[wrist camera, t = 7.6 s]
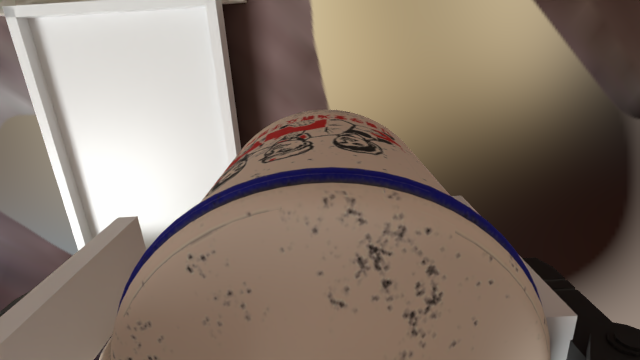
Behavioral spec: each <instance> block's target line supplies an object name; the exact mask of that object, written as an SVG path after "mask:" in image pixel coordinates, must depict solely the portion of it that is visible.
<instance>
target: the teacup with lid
mask: <svg viewBox="0 0 640 360" xmlns="http://www.w3.org/2000/svg"><path fill="white" fill-rule="evenodd" d="M99 360H551V355H550V337H549V331H548V325H547V320H546V317H545V314H544V311H543V308H542V303H541V300H540V297H539V294H538V291H537V288H536V285H535V283H534V281H533V279H532V277H531V275H530V273H529V271H528V269H527V267H526V266H525V264H524V263H523V261H522V260H521V258H520V256H519V255H518V253H517V252H516V251H515V250H514V248H513V247H512V246H511V245H510V243H509V242H508V241H507V240H506V239H505V237H504V236H503V235H502V234H501V233H500V232H499V231H497V230H496V229H495V228H494V227H493V226H492V225H491V224H490V223H489V222H488V221H487V220H485V219H484V218H483V217H482V216H480V215H479V214H478V213H476V212H475V211H474V210H472V209H471V208H470V207H468V206H466V205H465V204H463V203H461V202H460V201H458V200H456V199H455V198H453V197H451V196H450V195H449V194H448V193H447V191H446V190H445V189H444V188H443V187H442V186H441V184H440V183H439V182H438V181H437V180H436V179H435V178H434V176H433V175H432V174H431V173H430V172H429V171H428V170H427V169H426V167H425V166H424V165H423V164H422V163H421V162H420V160H419V159H418V158H417V157H416V156H415V155H414V154H413V152H412V151H411V150H410V149H409V148H408V147H407V146H406V144H405V143H404V142H403V141H402V140H401V139H400V138H399V137H398V136H396V135H395V134H394V133H392V132H391V131H390V130H389V129H387V128H386V127H384V126H383V125H381V124H379V123H377V122H375V121H373V120H371V119H369V118H366V117H364V116H361V115H358V114H354V113H350V112H345V111H338V110H313V111H306V112H301V113H297V114H293V115H291V116H288V117H285V118H283V119H280V120H278V121H276V122H274V123H272V124H271V125H269V126H267V127H266V128H264V129H263V130H261V131H260V132H259V133H258V134H256V135H255V136H254V137H253V138H252V139H251V140H250V141H249V142H248V143H247V144H246V145H245V146H244V147H243V149H242V150H241V151H240V152H239V154H238V155H237V156H236V157H235V159H234V160H233V161H232V162H231V164H230V165H229V166H228V168H227V169H226V170H225V171H224V173H223V174H222V175H221V177H220V178H219V179H218V180H217V182H216V183H215V184H214V186H213V187H212V188H211V189H210V191H209V192H208V193H207V194H206V196H205V197H204V198H203V200H202V201H201V202H200V203H199V204H197V205H196V206H194V207H193V208H191V209H190V210H188V211H187V212H186V213H184V214H183V215H182V216H180V217H179V218H178V219H176V220H175V221H174V222H173V223H172V224H171V225H170V226H169V227H167V228H166V229H165V230H164V231H163V232H162V233H161V234H160V235H159V236H158V237H157V238H156V240H155V241H154V242H153V243H152V244H151V245H150V247H149V248H148V249H147V250H146V251H145V253H144V254H143V256H142V257H141V259H140V260H139V262H138V263H137V265H136V266H135V268H134V270H133V272H132V274H131V276H130V278H129V280H128V282H127V284H126V286H125V288H124V291H123V294H122V297H121V300H120V303H119V307H118V312H117V317H116V320H115V324H114V329H113V334H112V338H111V339H110V341H109V342H108V344H107V345H106V347H105V348H104V350H103V352H102V354H101V356H100V358H99Z"/></svg>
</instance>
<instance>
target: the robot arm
mask: <svg viewBox="0 0 640 360" xmlns="http://www.w3.org/2000/svg"><path fill="white" fill-rule="evenodd" d="M451 197H453V198H455V199H456V200H458V201H460V202H461V203H463V204H465V205H466V206H468V207H470V208H471V209H472V210H474V208H472V206H471V205H470V204H469V203H468V202H467V201H466V200H465V199H464V198H463V197H462V196H451ZM474 211H475V210H474ZM475 212H476V211H475ZM476 213H477V212H476ZM145 251H146V247H145V243H144V239H143V235H142V232H141V228H140V224H139V220H138V216H134V217H118V218H117V219H116V220H114V221H113V222H112V223H111V224H110V225H108V226H107V227H106V228H105V229H104V230H103V231H101V232H100V233H99V234H98V235H97V236H95V237H94V238H93V239H92V240H91V241H90V242H88V243H87V244H86V245H85V246H84V247H82V248H81V249H80V250H79V251H78V252H77V253H75V254H74V255H73V256H72V257H71V258H70V259H68V260H67V261H66V262H65V263H64V264H62V265H61V266H60V267H59V268H58V269H57V270H55V271H54V272H53V273H52V274H51V275H49V276H48V277H47V278H46V279H45V280H44V281H42V282H41V283H40V284H39V285H38V286H36V287H35V288H34V289H33V290H31V291H29V292H28V293H26V294H24V295H22V296H21V297H19V298H17V299H15V300H14V301H13V302H11V303H10V304H9V305H8V306H7V307H5V308H4V309H3V310H2V311H1V312H0V360H94V359H95V357H96V356H97V354H98V353H99V352H100V350H101V349H102V347H103V346H104V345H105V343H106V342H107V340H108V339H109V338H110V336H111V335H112V334H113V329H114V324H115V320H116V317H117V312H118V307H119V303H120V300H121V297H122V294H123V291H124V288H125V286H126V284H127V282H128V280H129V278H130V276H131V274H132V272H133V270H134V268H135V266H136V265H137V263H138V262H139V260H140V259H141V257H142V256H143V254H144V253H145ZM520 258H521V257H520ZM521 260H522V261H523V263H524V264H525V266H526V267H527V269H528V271H529V273H530V275H531V277H532V279H533V281H534V283H535V285H536V288H537V291H538V294H539V297H540V300H541V303H542V308H543V311H544V314H545V317H546V320H547V325H548V331H549V337H550V355H551V360H640V330H639V329H636V328H634V327H631V326H628V325H624V324H619V323H613V322H611V321H610V320H609V319H608V318H607V317H606V316H605V315H604V314H603V313H602V312H601V311H600V310H599V309H598V308H596V307H595V306H594V305H593V304H592V303H591V302H590V301H589V300H588V299H587V298H586V297H585V296H583V295H582V294H581V293H580V292H579V291H578V290H575V287H574V286H573V285H571V284H570V282H568V281H567V280H565V278H564V277H563V276H562V275H561V274H560V273H559V272H558V271H557V270H556V269H555V268H553V267H552V266H550V265H548V264H547V263H544V262H543V261H541V260H539V259H537V258H521Z"/></svg>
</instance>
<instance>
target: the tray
mask: <svg viewBox="0 0 640 360" xmlns="http://www.w3.org/2000/svg"><path fill="white" fill-rule="evenodd" d="M2 8H3V11H4V14H5V17H6V20H7V24H8V27H9V30H10V33H11V36H12V39H13V43H14V46H15V49H16V52H17V55H18V59H19V62H20V65H21V68H22V71H23V75H24V78H25V81H26V84H27V87H28V91H29V94H30V97H31V100H32V103H33V107H34V110H35V113H36V116H37V119H38V123H39V125H40V129H41V132H42V135H43V138H44V142H45V145H46V147H47V151H48V154H49V158H50V161H51V164H52V167H53V171H54V174H55V177H56V180H57V183H58V186H59V190H60V193H61V196H62V199H63V203H64V206H65V209H66V212H67V215H68V218H69V221H70V225H71V228H72V231H73V234H74V238H75V241H76V244H77V247H78V250H80V249H81V248H82V247H84V246H85V245H86V244H87V243H88V242H90V241H91V240H92V239H93V238H94V237H95V236H97V235H98V234H99V233H100V232H101V231H103V230H104V229H105V228H106V227H107V226H108V225H110V224H111V223H112V222H113V221H114V220H116V219H117V218H118V217H134V216H138V220H139V224H140V228H141V232H142V235H143V239H144V243H145V247H146V250H147V249H148V248H149V247H150V245H151V244H152V243H153V242H154V241H155V240H156V238H157V237H158V236H159V235H160V234H161V233H162V232H163V231H164V230H165V229H166V228H167V227H169V226H170V225H171V224H172V223H173V222H174V221H175V220H176V219H178V218H179V217H180V216H182V215H183V214H184V213H186V212H187V211H188V210H190V209H191V208H193V207H194V206H196V205H197V204H199V203H200V202H201V201H202V200H203V198H204V197H205V196H206V194H207V193H208V192H209V191H210V189H211V188H212V187H213V186H214V184H215V183H216V182H217V180H218V179H219V178H220V177H221V175H222V174H223V173H224V171H225V170H226V169H227V168H228V166H229V165H230V164H231V162H232V161H233V160H234V159H235V157H236V156H237V155H238V154H239V152H240V151H241V144H240V137H239V129H238V122H237V114H236V106H235V99H234V91H233V84H232V76H231V69H230V61H229V53H228V46H227V38H226V31H225V23H224V16H223V8H222V0H95V1H80V2H64V3H49V4H33V5H17V6H2Z"/></svg>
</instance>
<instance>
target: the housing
mask: <svg viewBox="0 0 640 360" xmlns="http://www.w3.org/2000/svg"><path fill="white" fill-rule="evenodd" d="M80 1H95V0H0V16H5V14H4V11H3V8H2V6H17V5H33V4H49V3H64V2H80ZM234 3H247V0H222V4H234Z"/></svg>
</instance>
